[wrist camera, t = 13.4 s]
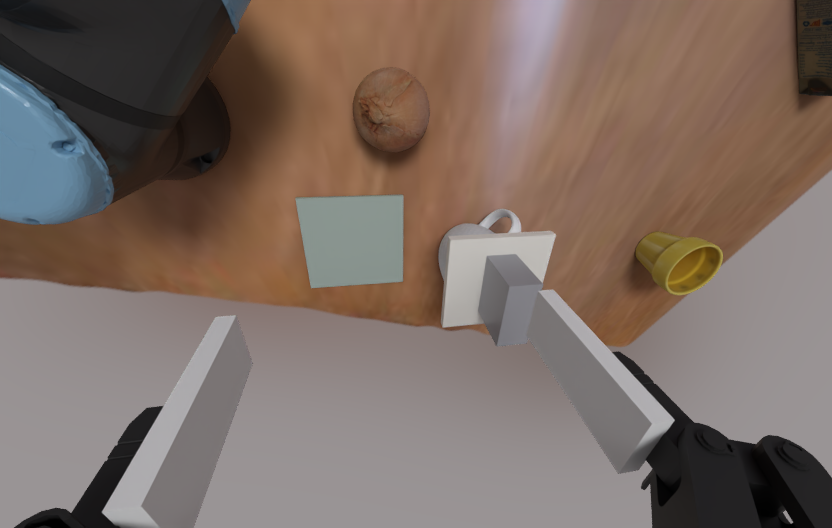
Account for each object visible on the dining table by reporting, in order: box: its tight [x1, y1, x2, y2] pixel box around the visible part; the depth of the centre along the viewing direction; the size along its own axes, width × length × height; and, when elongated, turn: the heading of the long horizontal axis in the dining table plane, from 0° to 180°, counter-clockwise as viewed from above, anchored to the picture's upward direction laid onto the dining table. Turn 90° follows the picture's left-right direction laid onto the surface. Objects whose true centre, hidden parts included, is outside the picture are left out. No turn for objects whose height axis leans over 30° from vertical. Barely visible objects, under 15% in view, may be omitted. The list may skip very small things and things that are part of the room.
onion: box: [353, 68, 430, 152], centre depth 39 cm, size 10×9×10 cm
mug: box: [438, 209, 521, 280], centre depth 49 cm, size 15×11×13 cm
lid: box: [441, 231, 556, 346], centre depth 40 cm, size 14×14×8 cm
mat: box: [296, 195, 403, 288], centre depth 52 cm, size 16×16×1 cm
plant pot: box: [635, 232, 723, 295], centre depth 59 cm, size 10×10×10 cm
